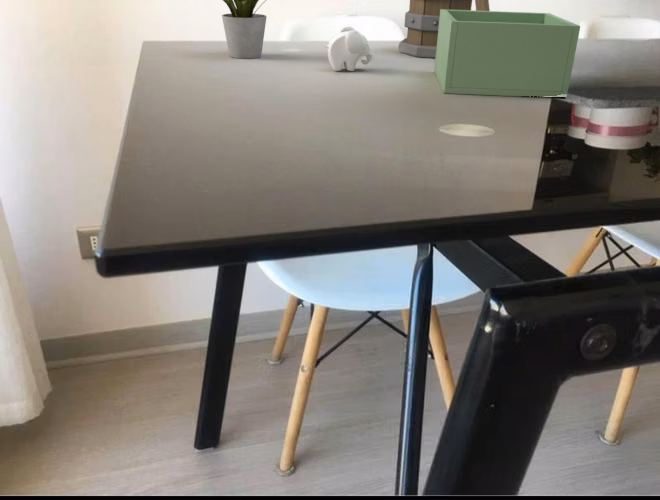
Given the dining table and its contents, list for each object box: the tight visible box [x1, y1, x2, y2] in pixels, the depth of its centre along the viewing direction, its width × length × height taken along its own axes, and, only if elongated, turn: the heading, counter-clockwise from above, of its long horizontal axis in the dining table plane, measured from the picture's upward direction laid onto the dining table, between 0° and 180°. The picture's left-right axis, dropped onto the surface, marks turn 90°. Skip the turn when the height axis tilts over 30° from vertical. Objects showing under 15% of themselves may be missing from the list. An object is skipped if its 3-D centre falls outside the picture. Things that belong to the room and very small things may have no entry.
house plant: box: [221, 0, 267, 59], centre depth 99 cm, size 14×14×16 cm
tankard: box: [398, 0, 491, 59], centre depth 105 cm, size 20×13×15 cm, turn 30°
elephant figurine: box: [320, 25, 375, 72], centre depth 93 cm, size 7×8×6 cm
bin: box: [434, 9, 581, 98], centre depth 86 cm, size 16×16×9 cm
